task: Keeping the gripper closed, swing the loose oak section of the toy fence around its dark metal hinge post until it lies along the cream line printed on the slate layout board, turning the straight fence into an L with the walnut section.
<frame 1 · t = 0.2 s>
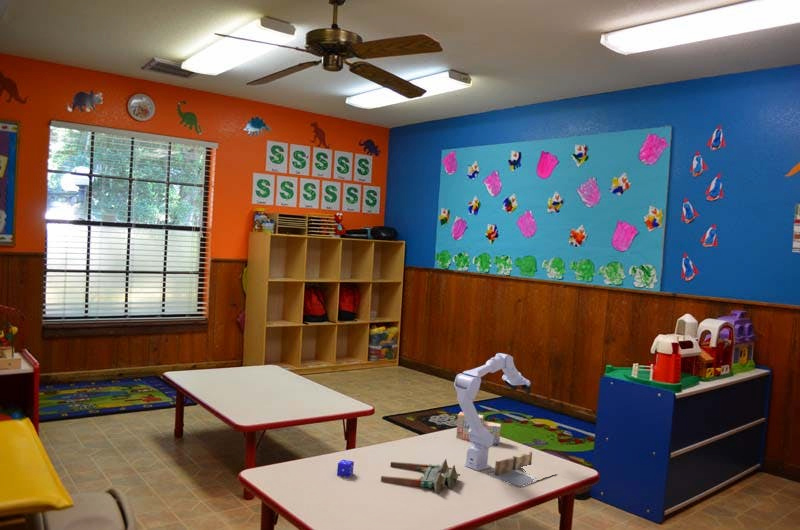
hand: (522, 391, 285), 31 cm above the table, tool tilted 45°, fingers open, 7 cm apart
die: (344, 475, 245), on the table
stack of blocks: (477, 440, 306), on the table
walnut fence section: (505, 465, 261), on the layout board, point 3 cm above the table
layout board: (513, 471, 265), on the table
oak fence section: (523, 460, 270), point 4 cm above the table, hinge at 0.0°
miniature gate: (421, 480, 247), on the table
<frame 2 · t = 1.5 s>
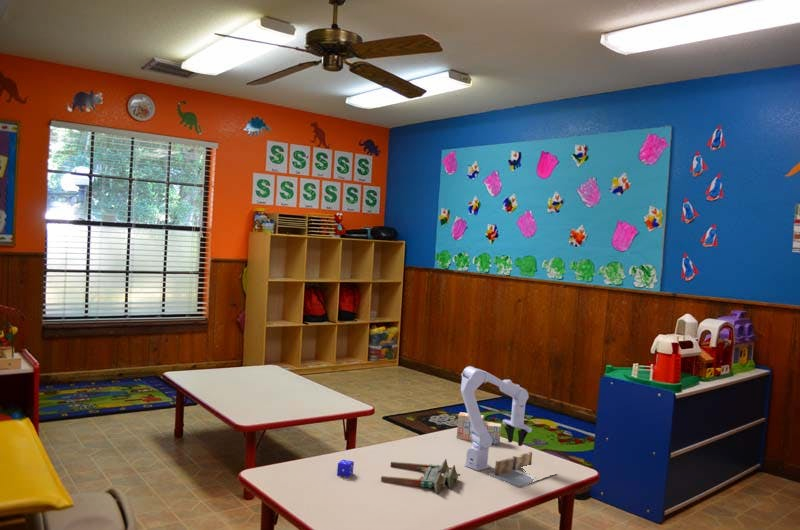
hand: (515, 443, 273), 9 cm above the table, tool pointing down, fingers open, 5 cm apart
nothing on the table moved.
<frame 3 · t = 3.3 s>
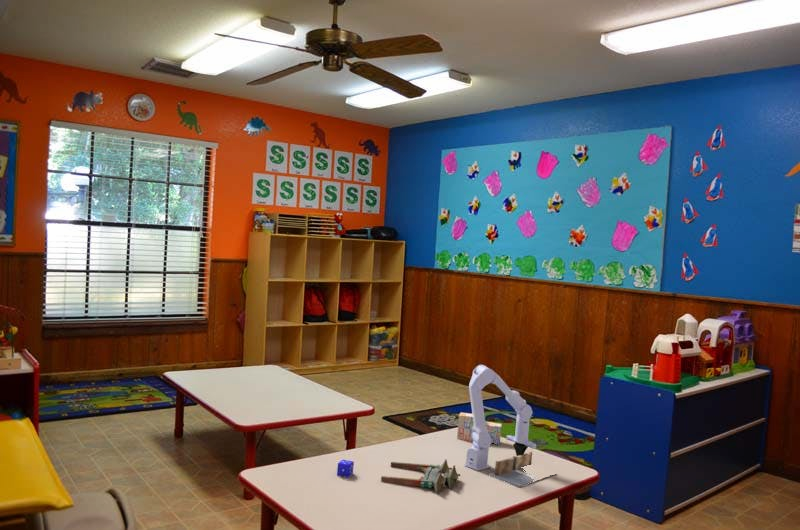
hand: (519, 460, 271), 3 cm above the table, tool pointing down, fingers closed
oak fence section: (523, 460, 270), point 4 cm above the table, hinge at 0.0°, touching gripper
everything else where it was.
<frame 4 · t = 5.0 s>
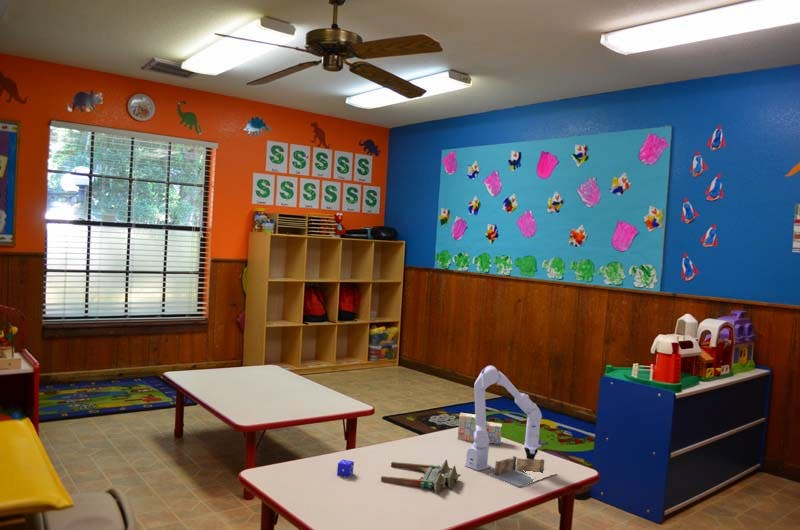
hand: (529, 464, 266), 3 cm above the table, tool pointing down, fingers closed, pressing on oak fence section
oak fence section: (530, 464, 264), point 4 cm above the table, hinge at -47.8°, touching gripper
everything else where it was.
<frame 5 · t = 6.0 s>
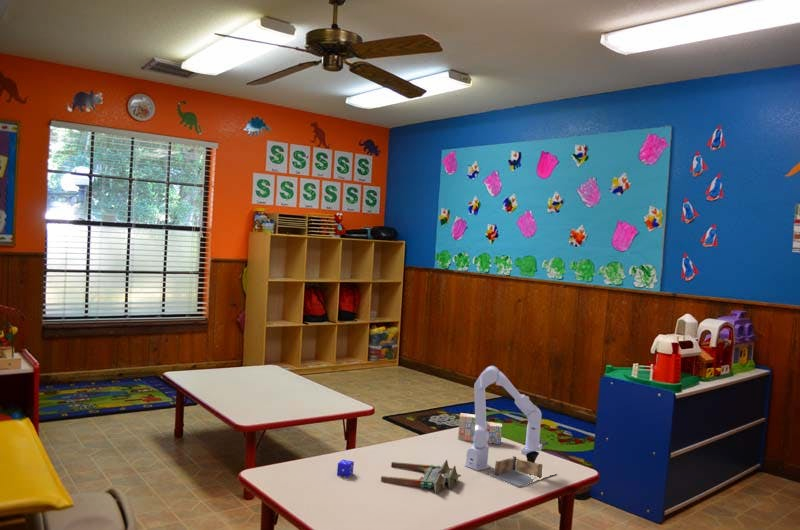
hand: (530, 467, 262), 3 cm above the table, tool pointing down, fingers closed, pressing on oak fence section
oak fence section: (529, 467, 261), point 4 cm above the table, hinge at -79.9°, touching gripper
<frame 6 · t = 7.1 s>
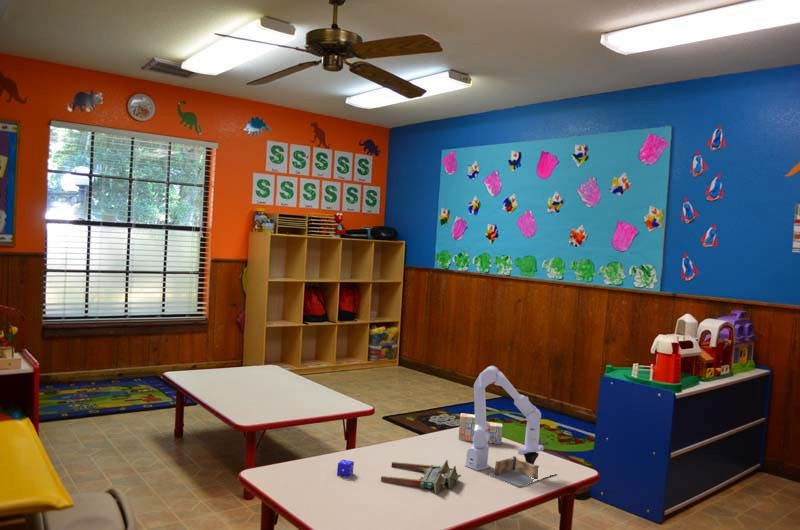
hand: (529, 468, 261), 3 cm above the table, tool pointing down, fingers closed
oak fence section: (526, 468, 259), point 4 cm above the table, hinge at -94.9°, touching gripper
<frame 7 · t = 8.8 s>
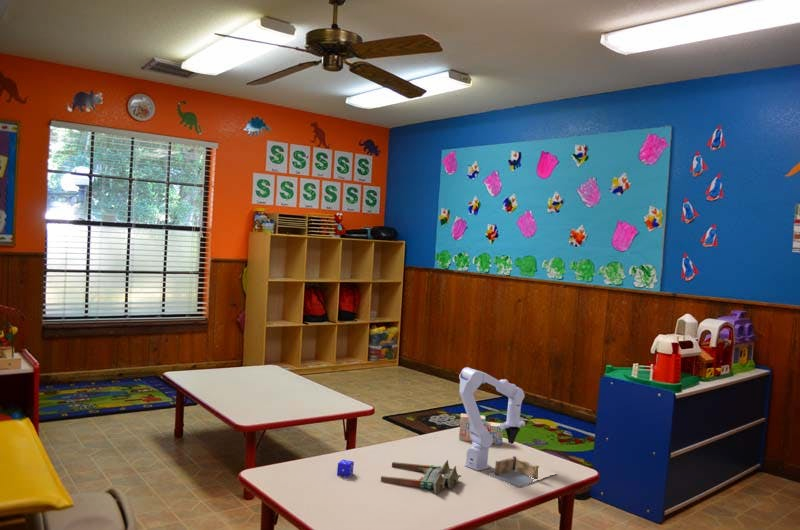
hand: (510, 443, 274), 9 cm above the table, tool pointing down, fingers closed
oak fence section: (526, 468, 259), point 4 cm above the table, hinge at -95.1°
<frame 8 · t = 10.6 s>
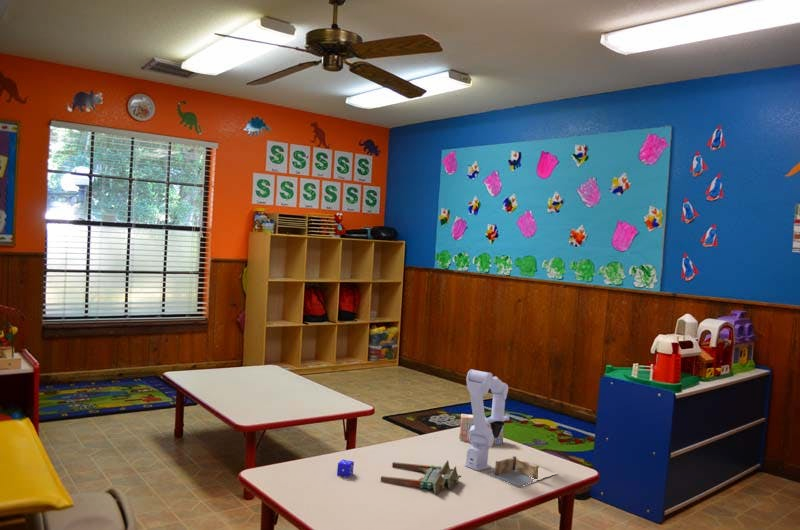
hand: (495, 437, 281), 9 cm above the table, tool pointing down, fingers closed
at the end: oak fence section at -95° (first picture: +0°) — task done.
